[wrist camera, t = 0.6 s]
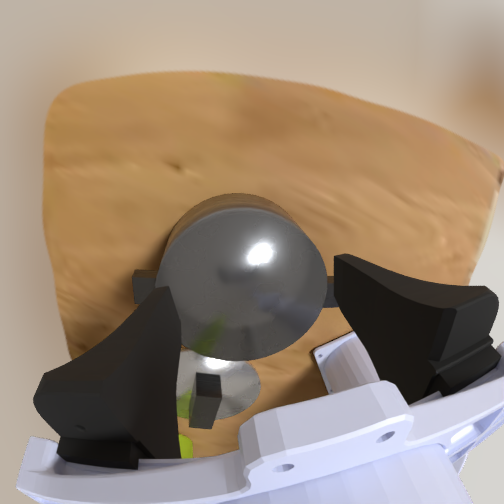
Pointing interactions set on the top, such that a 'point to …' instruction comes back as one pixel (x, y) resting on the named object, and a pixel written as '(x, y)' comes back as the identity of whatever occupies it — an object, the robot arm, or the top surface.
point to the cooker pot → (240, 278)
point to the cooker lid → (213, 388)
